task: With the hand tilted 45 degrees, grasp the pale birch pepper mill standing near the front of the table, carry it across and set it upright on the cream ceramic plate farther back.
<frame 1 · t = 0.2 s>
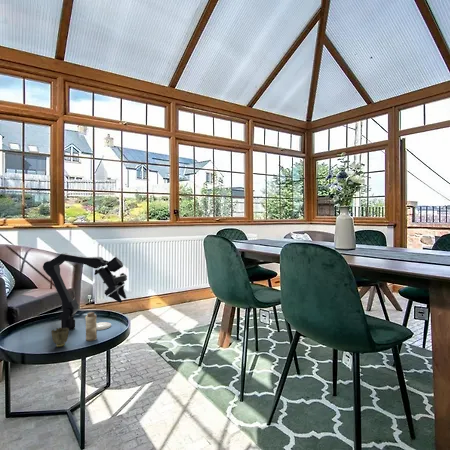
hand: (123, 300, 183), 15 cm above the table, tool tilted 35°, fingers open, 9 cm apart
cup: (60, 346, 156), on the table
pepper mill: (91, 339, 165), on the table
plate: (100, 327, 185), on the table
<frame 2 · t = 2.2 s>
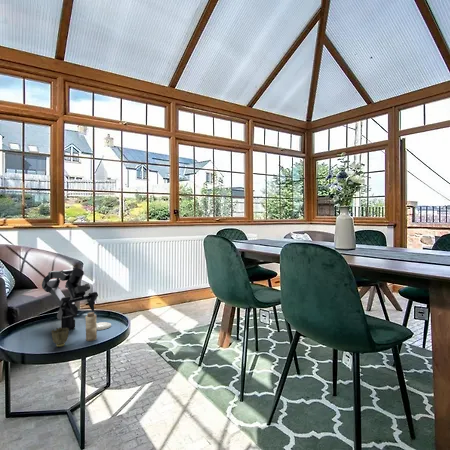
hand: (84, 312, 169), 12 cm above the table, tool tilted 45°, fingers open, 9 cm apart
nothing on the table moved.
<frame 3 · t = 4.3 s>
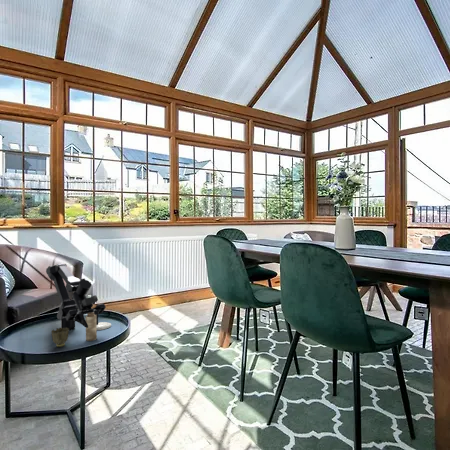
hand: (92, 326, 164), 7 cm above the table, tool tilted 45°, fingers closed on pepper mill, 5 cm apart
pepper mill: (91, 339, 165), on the table, touching gripper
everything else where it was.
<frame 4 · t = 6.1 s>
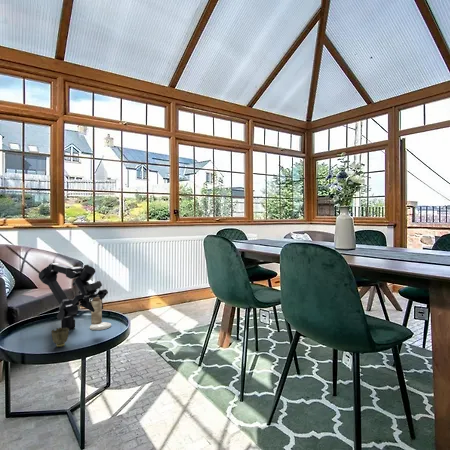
hand: (98, 310, 170), 13 cm above the table, tool tilted 45°, fingers closed on pepper mill, 5 cm apart
pepper mill: (96, 323, 170), point 6 cm above the table, touching gripper
everything else where it was.
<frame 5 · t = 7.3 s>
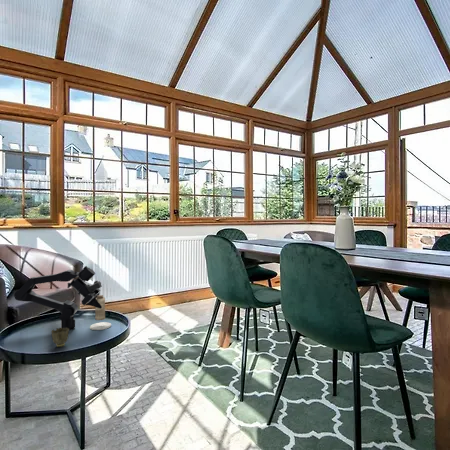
hand: (102, 306, 185), 11 cm above the table, tool tilted 45°, fingers closed on pepper mill, 5 cm apart
pepper mill: (100, 318, 185), point 5 cm above the table, touching gripper
everything else where it was.
when the fingers open (9 cm above the table, at t = 8.1 s): pepper mill drops 1 cm, resting on plate.
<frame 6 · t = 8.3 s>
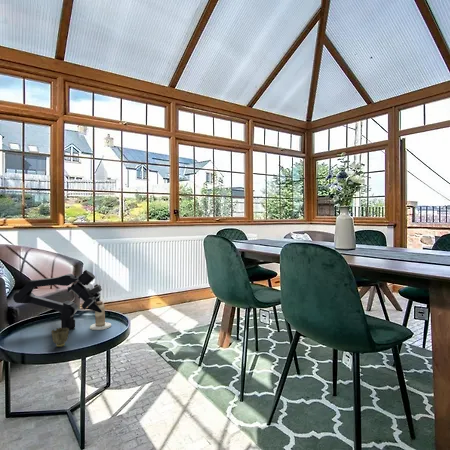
hand: (102, 310, 185), 9 cm above the table, tool tilted 45°, fingers open, 7 cm apart
pepper mill: (100, 325, 185), point 1 cm above the table, touching plate
everything else where it was.
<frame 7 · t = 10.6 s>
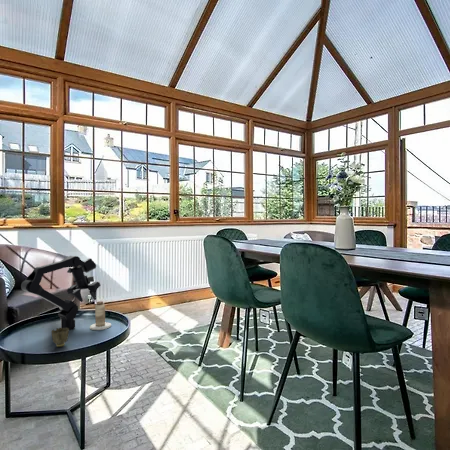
hand: (88, 300, 192), 13 cm above the table, tool tilted 20°, fingers open, 9 cm apart
nothing on the table moved.
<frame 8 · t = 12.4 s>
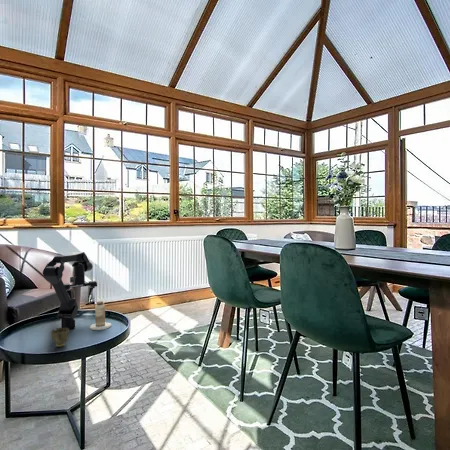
hand: (79, 299, 195), 13 cm above the table, tool pointing down, fingers open, 9 cm apart
nothing on the table moved.
at the end: pepper mill 0.1 cm off-centre on the plate, point 1.0 cm above the plate's base; pepper mill tilted 0°; the gripper is holding nothing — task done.
